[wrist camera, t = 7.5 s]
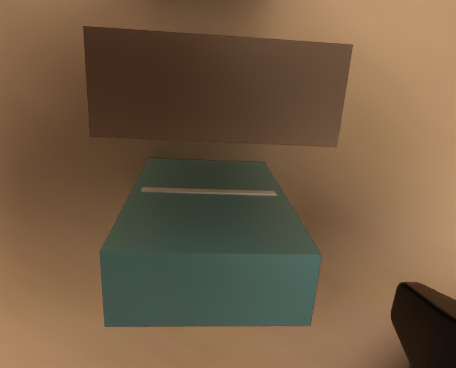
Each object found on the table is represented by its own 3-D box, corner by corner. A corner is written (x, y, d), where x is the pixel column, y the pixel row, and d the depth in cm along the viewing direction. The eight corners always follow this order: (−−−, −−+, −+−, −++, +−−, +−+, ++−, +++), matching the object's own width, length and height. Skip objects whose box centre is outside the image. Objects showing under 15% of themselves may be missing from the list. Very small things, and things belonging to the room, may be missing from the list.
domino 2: (260, 205, 17) (310, 327, 9) (149, 202, 16) (104, 328, 9) (264, 160, 16) (322, 252, 8) (148, 156, 16) (99, 249, 8)
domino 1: (268, 104, 15) (336, 149, 8) (146, 98, 15) (89, 138, 7) (273, 50, 14) (353, 42, 7) (146, 42, 14) (82, 23, 7)
